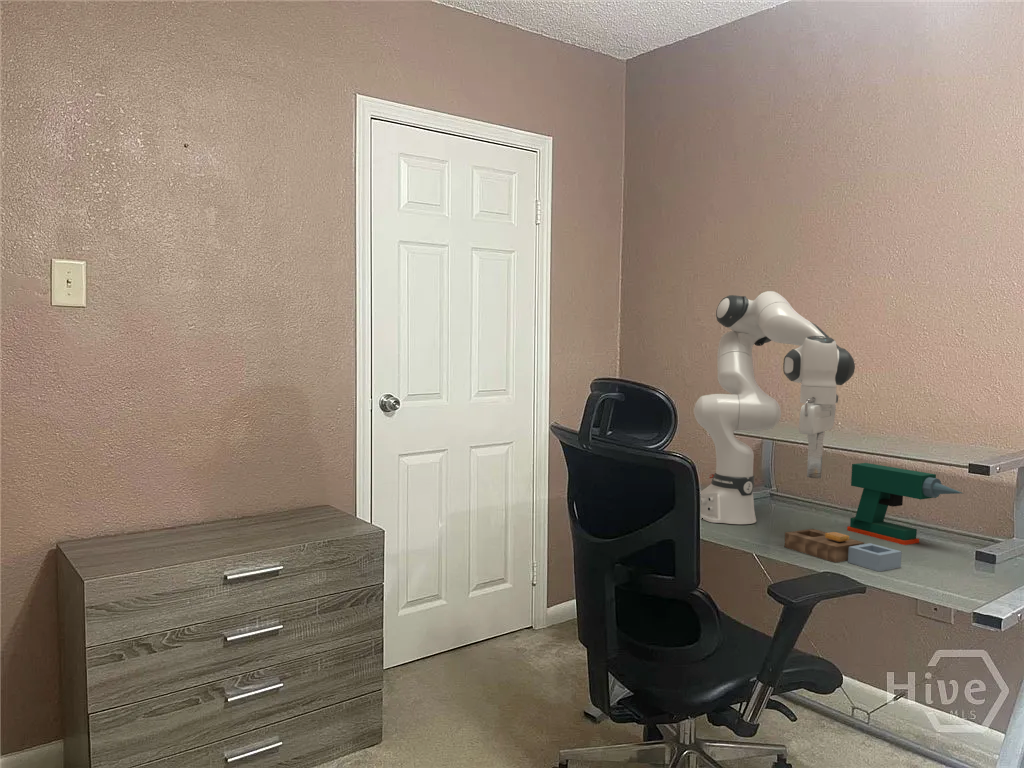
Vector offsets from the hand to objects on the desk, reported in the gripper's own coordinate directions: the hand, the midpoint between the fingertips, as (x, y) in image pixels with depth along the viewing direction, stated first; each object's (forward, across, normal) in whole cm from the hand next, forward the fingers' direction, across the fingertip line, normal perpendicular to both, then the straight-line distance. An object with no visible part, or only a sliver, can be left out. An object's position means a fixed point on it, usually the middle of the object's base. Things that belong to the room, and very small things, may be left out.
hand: (815, 448), depth 206 cm
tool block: (+27, -2, -4) cm, 27 cm away
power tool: (+27, +27, -18) cm, 42 cm away
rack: (+27, -5, -17) cm, 32 cm away
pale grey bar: (+8, 0, 0) cm, 8 cm away
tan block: (+26, -3, -7) cm, 28 cm away
